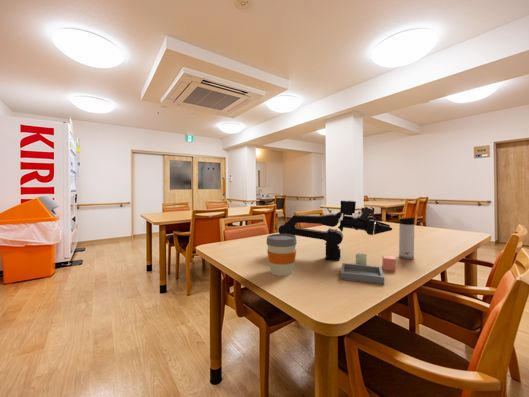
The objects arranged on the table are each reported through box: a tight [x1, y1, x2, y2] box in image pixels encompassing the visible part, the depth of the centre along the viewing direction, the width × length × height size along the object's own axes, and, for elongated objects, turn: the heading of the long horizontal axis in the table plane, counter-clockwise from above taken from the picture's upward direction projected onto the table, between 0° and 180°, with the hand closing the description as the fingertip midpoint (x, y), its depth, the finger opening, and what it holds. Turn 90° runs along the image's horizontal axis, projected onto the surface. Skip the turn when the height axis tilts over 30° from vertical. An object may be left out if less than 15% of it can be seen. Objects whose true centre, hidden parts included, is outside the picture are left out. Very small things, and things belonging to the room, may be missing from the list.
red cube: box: [381, 254, 397, 272], centre depth 101 cm, size 4×4×5 cm
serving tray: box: [340, 262, 385, 285], centre depth 93 cm, size 15×12×3 cm
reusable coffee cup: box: [266, 233, 297, 277], centre depth 99 cm, size 13×13×15 cm
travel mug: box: [398, 217, 416, 260], centre depth 116 cm, size 6×7×20 cm
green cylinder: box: [355, 252, 368, 265], centre depth 105 cm, size 4×4×5 cm
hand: (390, 227), depth 106 cm, fingers open, 9 cm apart
